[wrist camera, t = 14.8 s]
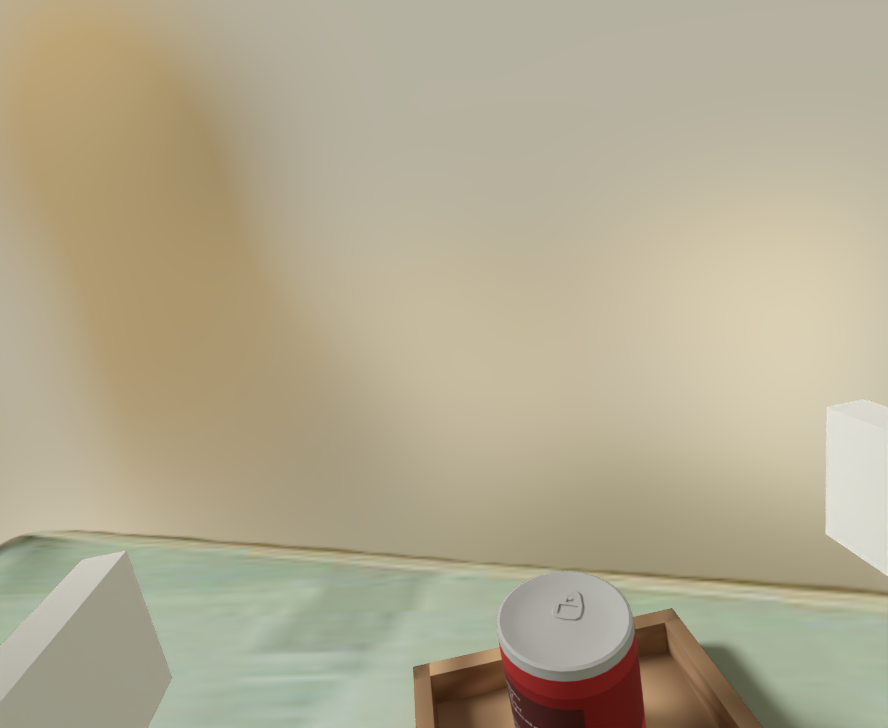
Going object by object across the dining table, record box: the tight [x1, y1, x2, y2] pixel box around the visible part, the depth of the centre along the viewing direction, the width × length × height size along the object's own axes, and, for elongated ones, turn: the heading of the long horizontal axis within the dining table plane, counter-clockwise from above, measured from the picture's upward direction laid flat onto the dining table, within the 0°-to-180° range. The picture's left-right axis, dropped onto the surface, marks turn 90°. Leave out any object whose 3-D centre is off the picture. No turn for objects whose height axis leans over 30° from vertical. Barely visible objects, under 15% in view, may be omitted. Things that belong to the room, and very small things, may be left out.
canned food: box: [497, 571, 646, 728], centre depth 32 cm, size 8×8×11 cm
